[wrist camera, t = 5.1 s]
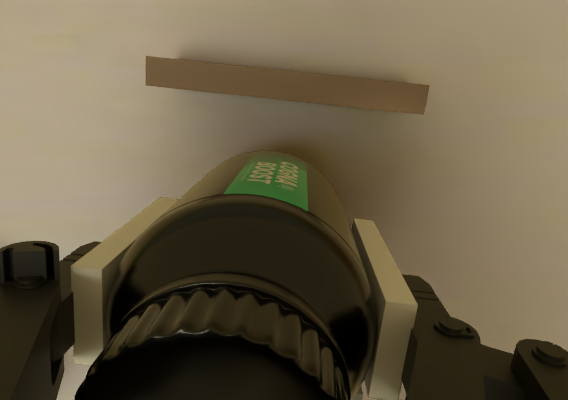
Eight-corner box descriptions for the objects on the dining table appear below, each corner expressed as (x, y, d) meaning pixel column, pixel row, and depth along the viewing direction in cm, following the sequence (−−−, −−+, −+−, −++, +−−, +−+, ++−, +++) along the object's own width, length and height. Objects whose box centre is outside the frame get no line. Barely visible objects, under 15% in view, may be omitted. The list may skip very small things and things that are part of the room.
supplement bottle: (261, 114, 17) (177, 166, 6) (377, 222, 18) (509, 457, 7) (160, 227, 19) (-73, 454, 7) (272, 322, 20) (228, 657, 8)
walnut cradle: (369, 300, 25) (380, 341, 21) (169, 277, 25) (144, 313, 21) (407, 84, 21) (429, 85, 17) (174, 60, 21) (145, 56, 18)
